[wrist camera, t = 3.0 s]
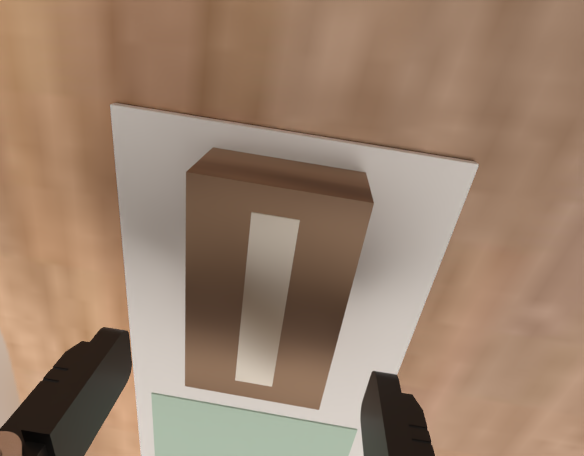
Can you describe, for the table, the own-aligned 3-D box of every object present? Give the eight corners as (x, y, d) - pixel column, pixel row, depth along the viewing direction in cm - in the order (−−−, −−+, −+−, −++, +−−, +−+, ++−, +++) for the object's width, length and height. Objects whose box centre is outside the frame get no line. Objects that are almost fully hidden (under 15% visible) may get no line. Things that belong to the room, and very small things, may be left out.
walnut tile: (212, 147, 14) (185, 172, 12) (366, 172, 14) (374, 203, 11) (205, 337, 19) (184, 387, 16) (320, 357, 19) (318, 411, 16)
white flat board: (115, 102, 14) (108, 104, 14) (475, 161, 14) (479, 165, 14) (146, 478, 26) (142, 486, 26) (339, 514, 26) (339, 522, 26)
